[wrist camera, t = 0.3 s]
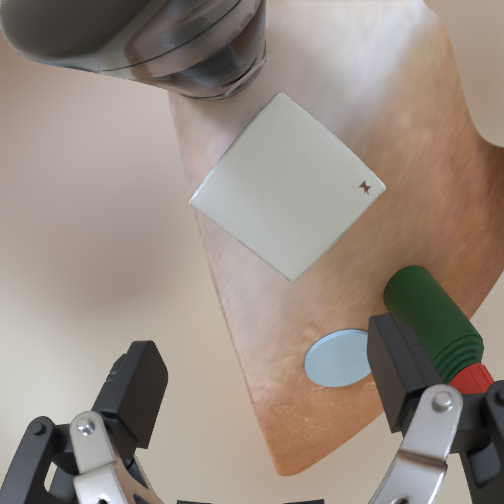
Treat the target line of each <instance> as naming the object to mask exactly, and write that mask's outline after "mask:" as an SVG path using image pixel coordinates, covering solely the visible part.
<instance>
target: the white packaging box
mask: <svg viewBox="0 0 504 504" xmlns="http://www.w3.org/2000/svg"><path fill="white" fill-rule="evenodd" d="M385 190H386V186H385V184H384V183H383V182H382V181H381V180H380V179H379V178H378V177H377V176H376V175H375V174H374V173H373V172H372V171H371V170H370V169H369V168H368V167H367V166H366V165H365V164H364V163H363V162H362V161H361V160H360V159H359V158H358V157H357V156H356V155H355V154H354V153H353V152H352V151H351V150H350V149H349V148H348V147H347V146H345V145H344V144H343V143H342V142H341V141H340V140H339V139H338V138H337V137H336V136H334V135H333V134H332V133H331V132H330V131H329V130H328V129H326V128H325V127H324V126H323V125H322V124H321V123H319V122H318V121H317V120H316V119H315V118H314V117H312V116H311V115H310V114H309V113H307V112H306V111H305V110H304V109H302V108H301V107H300V106H299V105H297V104H296V103H295V102H294V101H293V100H291V99H290V98H289V97H288V96H286V95H285V94H284V93H282V92H278V93H277V94H276V95H275V96H274V97H273V98H272V99H271V100H270V101H269V102H268V103H267V104H266V106H265V107H264V108H263V109H262V110H261V111H260V112H259V113H258V114H257V115H256V116H255V117H254V118H253V120H252V121H251V122H250V123H249V124H248V125H247V126H246V127H245V129H244V130H243V131H242V132H241V133H240V134H239V136H238V137H237V138H236V139H235V140H234V142H233V143H232V144H231V145H230V147H229V148H228V149H227V150H226V152H225V153H224V154H223V155H222V157H221V158H220V159H219V161H218V162H217V163H216V165H215V166H214V167H213V169H212V170H211V171H210V173H209V174H208V175H207V177H206V178H205V180H204V181H203V182H202V184H201V185H200V187H199V188H198V189H197V191H196V192H195V194H194V195H193V197H192V198H191V200H190V201H189V203H190V204H191V205H192V206H194V207H195V208H196V209H197V210H199V211H200V212H201V213H203V214H204V215H205V216H207V217H208V218H209V219H211V220H212V221H213V222H215V223H216V224H217V225H219V226H220V227H221V228H223V229H224V230H225V231H227V232H228V233H229V234H231V235H232V236H233V237H234V238H236V239H237V240H238V241H239V242H241V243H242V244H243V245H244V246H246V247H247V248H248V249H249V250H251V251H252V252H253V253H254V254H256V255H257V256H258V257H260V258H261V259H262V260H263V261H264V262H266V263H267V264H268V265H269V266H271V267H272V268H273V269H275V270H276V271H277V272H278V273H280V274H281V275H282V276H283V277H285V278H286V279H287V280H288V281H289V282H292V283H294V282H296V281H297V280H298V279H299V278H300V277H301V276H302V275H303V274H305V273H306V272H307V271H308V270H309V268H310V267H311V266H312V265H313V264H314V263H315V262H316V261H317V260H318V259H319V258H320V257H321V256H322V255H323V254H324V253H325V252H326V251H327V250H328V249H329V248H330V247H331V246H332V245H333V244H334V243H335V242H336V241H337V240H338V239H339V238H341V237H342V236H343V235H344V234H345V233H346V231H347V230H348V229H349V228H350V227H351V226H352V225H353V224H354V223H355V222H356V221H357V219H358V218H359V217H360V216H361V215H362V214H363V213H364V212H365V211H366V210H367V209H368V208H369V207H370V206H371V205H372V204H373V202H374V201H375V200H376V199H377V198H378V197H379V196H380V195H381V194H382V193H383V192H384V191H385Z"/></svg>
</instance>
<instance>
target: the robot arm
mask: <svg viewBox="0 0 504 504" xmlns="http://www.w3.org/2000/svg"><path fill="white" fill-rule="evenodd" d="M265 18H266V0H0V30H1V32H2V35H3V36H4V38H5V40H6V41H7V43H8V44H9V45H10V46H11V48H12V49H13V50H15V51H16V52H17V53H18V54H20V55H22V56H24V57H25V58H28V59H29V60H32V61H35V62H38V63H41V64H46V65H51V66H57V67H64V68H71V69H77V70H83V71H88V72H94V73H99V74H104V75H109V76H114V77H118V78H124V79H128V80H132V81H137V82H140V83H144V84H148V85H152V86H156V87H159V88H163V89H167V90H170V91H174V92H177V93H179V94H181V95H184V96H186V97H189V98H193V99H198V100H218V99H222V98H226V97H229V96H232V95H234V94H236V93H238V92H240V91H241V90H243V89H244V88H245V87H247V86H248V85H249V84H250V83H251V82H252V81H253V80H254V79H255V78H256V76H257V75H258V73H259V72H260V70H261V68H262V66H263V64H264V63H265V62H266V58H265V53H266V42H265ZM367 359H368V363H369V366H370V369H371V372H372V375H373V378H374V380H375V383H376V386H377V389H378V392H379V395H380V398H381V401H382V404H383V408H384V411H385V414H386V417H387V420H388V423H389V427H390V430H391V433H395V432H399V431H401V432H402V435H403V438H404V439H403V441H402V443H401V445H400V447H399V449H398V451H397V453H396V455H395V457H394V459H393V461H392V463H391V465H390V467H389V469H388V471H387V473H386V474H385V476H384V478H383V480H382V482H381V483H380V485H379V487H378V488H377V490H376V492H375V494H374V495H373V497H372V498H371V500H370V501H369V503H368V504H433V503H434V501H435V499H436V497H437V494H438V492H439V490H440V487H441V485H442V483H443V480H444V478H445V475H446V472H447V467H448V465H447V464H446V461H447V457H448V455H449V454H453V453H459V455H460V458H461V461H462V465H463V468H464V472H465V475H466V479H467V483H468V487H469V490H470V495H471V499H472V503H473V504H504V380H500V381H496V382H494V383H492V384H491V385H490V386H489V387H488V389H487V391H486V393H475V394H460V392H459V391H458V390H457V389H456V388H454V387H452V386H450V385H447V384H444V382H443V380H442V378H441V377H440V375H439V373H438V371H437V369H436V367H435V365H434V364H433V362H432V360H431V358H430V356H429V355H428V353H427V352H426V349H425V347H424V346H423V344H421V340H420V339H419V337H418V335H417V334H416V332H415V331H414V330H413V329H411V328H410V327H409V326H407V325H406V324H402V325H397V323H396V322H395V320H394V318H393V316H392V315H391V313H386V314H381V315H376V316H371V317H370V318H369V325H368V337H367ZM167 383H168V371H167V368H166V366H165V364H164V362H163V360H162V357H161V355H160V353H159V351H158V349H157V348H156V345H155V343H154V342H153V341H150V340H149V341H133V342H132V344H131V346H130V348H129V350H128V352H127V353H126V354H123V355H122V356H121V357H120V358H119V359H118V360H117V361H116V362H115V363H114V365H113V367H112V369H111V371H110V374H109V375H108V377H107V379H106V382H105V383H104V385H103V387H102V389H101V391H100V393H99V395H98V397H97V399H96V401H95V403H94V405H93V407H92V409H91V411H85V412H82V413H80V414H78V415H77V416H76V417H75V418H74V419H73V420H72V422H71V424H62V425H55V424H54V423H53V422H52V420H51V419H50V418H48V417H46V416H41V417H37V418H36V419H34V420H33V421H32V422H31V423H30V424H29V426H28V427H27V430H26V432H25V434H24V436H23V438H22V440H21V442H20V444H19V447H18V449H17V451H16V453H15V455H14V458H13V460H12V463H11V465H10V467H9V469H8V472H7V474H6V477H5V479H4V482H3V484H2V487H1V490H0V504H164V503H163V501H162V500H161V499H160V498H159V497H158V496H157V494H156V493H155V491H154V490H153V488H152V486H151V484H150V482H149V480H148V478H147V476H146V474H145V473H144V471H143V468H142V466H141V465H140V463H139V460H138V458H137V456H136V455H135V454H134V453H135V450H136V448H144V449H148V445H149V442H150V438H151V435H152V431H153V428H154V425H155V422H156V418H157V415H158V412H159V409H160V405H161V402H162V399H163V396H164V392H165V389H166V386H167ZM51 462H53V463H54V464H55V465H57V469H56V472H55V475H54V478H53V480H52V483H51V486H50V489H49V492H47V491H46V489H45V487H44V481H45V478H46V475H47V472H48V469H49V467H50V464H51ZM177 504H211V503H199V502H188V501H179V500H177ZM285 504H324V499H321V500H314V501H305V502H295V503H285Z"/></svg>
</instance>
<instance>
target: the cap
mask: <svg viewBox="0 0 504 504" xmlns="http://www.w3.org/2000/svg"><path fill="white" fill-rule="evenodd" d="M492 383H494V380H493V378H492V377H491V375H490V373H489V372H488V370H487V369H486V367H485V366H484V365H483V364H481V363H475V364H472V365H470V366H468V367H466V368H465V369H463V370H462V371H460V372H459V373H458V374H457V375H456V376H455V377H454V378H453V379H452V380H451V382H450V383H449V385H450V386H452V387H454V388H456V389H457V390H458V391H459V392H460V394H475V393H486V391H487V389H488V387H489V386H490V385H491V384H492Z"/></svg>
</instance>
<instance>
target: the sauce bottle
mask: <svg viewBox="0 0 504 504" xmlns="http://www.w3.org/2000/svg"><path fill="white" fill-rule="evenodd" d="M384 303H385V305H386V307H387V309H388V311H389V312H390V313H391V315H392V316H393V318H394V320H395V322H396V323H397V325H402V324H406V325H407V326H409V327H410V328H411V329H413V330H414V331H415V332H416V334H417V335H418V337H419V339H420V340H421V344H423V346H424V347H425V349H426V352H427V353H428V355H429V356H430V358H431V360H432V362H433V364H434V365H435V367H436V369H437V371H438V373H439V375H440V377H441V378H442V380H443V382H444V384H447V385H449V383H450V382H451V380H452V379H453V378H454V377H455V376H456V375H457V374H458V373H459V372H460V371H462V370H463V369H465V368H466V367H468V366H470V365H472V364H475V363H481V359H482V355H483V350H484V345H483V340H482V337H481V336H480V334H479V333H478V332H477V330H476V329H475V328H474V326H473V325H472V324H471V322H470V321H469V320H468V319H467V317H466V316H465V315H464V314H463V312H462V311H461V310H460V309H459V307H458V306H457V305H456V304H455V302H454V301H453V300H452V299H451V298H450V296H449V295H448V294H447V293H446V292H445V291H444V289H443V288H442V287H441V286H440V285H439V284H438V282H437V281H436V280H435V279H434V278H433V277H432V276H431V275H430V273H429V272H428V271H427V270H426V269H424V268H422V267H419V266H410V267H407V268H404V269H402V270H400V271H399V272H397V273H396V274H395V275H394V276H393V277H392V278H391V279H390V281H389V282H388V284H387V286H386V288H385V291H384Z"/></svg>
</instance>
